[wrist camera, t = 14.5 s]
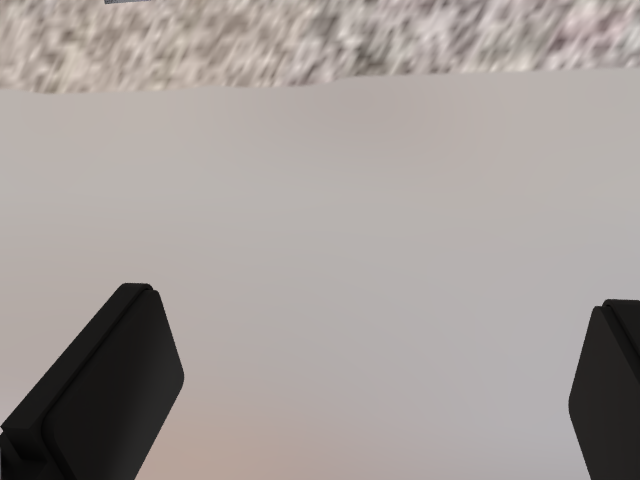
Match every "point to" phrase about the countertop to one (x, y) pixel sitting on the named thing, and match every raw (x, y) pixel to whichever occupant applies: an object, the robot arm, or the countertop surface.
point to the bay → (121, 1)
